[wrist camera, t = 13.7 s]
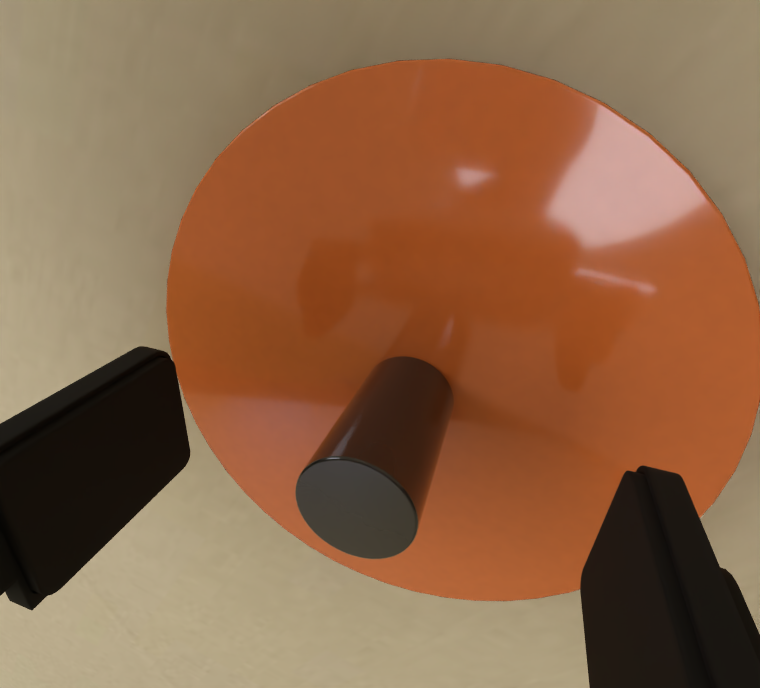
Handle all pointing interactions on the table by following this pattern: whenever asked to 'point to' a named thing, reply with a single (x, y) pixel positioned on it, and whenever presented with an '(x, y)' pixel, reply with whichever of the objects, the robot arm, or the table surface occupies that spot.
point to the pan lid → (459, 323)
